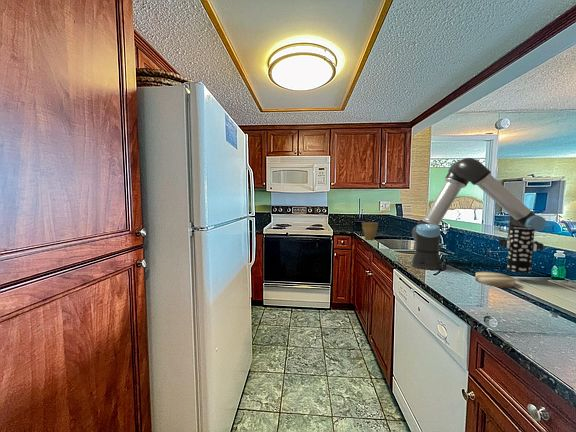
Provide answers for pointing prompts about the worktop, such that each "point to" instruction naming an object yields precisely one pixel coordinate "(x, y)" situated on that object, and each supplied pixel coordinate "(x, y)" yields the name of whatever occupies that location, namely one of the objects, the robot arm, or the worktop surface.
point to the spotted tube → (520, 249)
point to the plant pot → (369, 230)
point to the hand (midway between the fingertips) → (521, 246)
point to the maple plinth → (495, 279)
